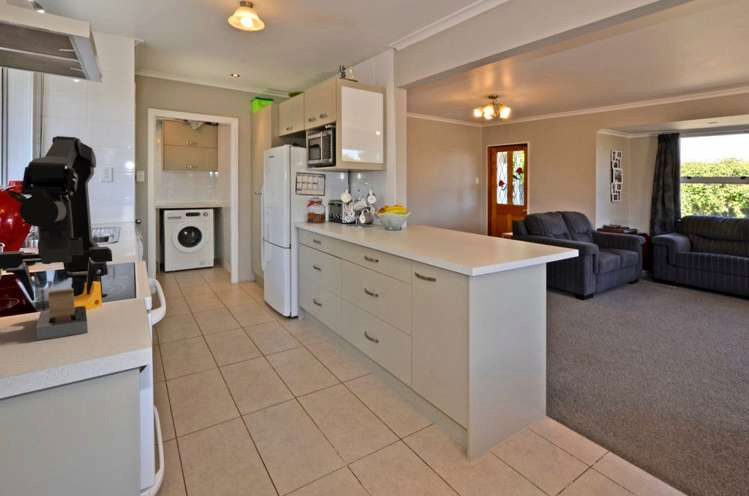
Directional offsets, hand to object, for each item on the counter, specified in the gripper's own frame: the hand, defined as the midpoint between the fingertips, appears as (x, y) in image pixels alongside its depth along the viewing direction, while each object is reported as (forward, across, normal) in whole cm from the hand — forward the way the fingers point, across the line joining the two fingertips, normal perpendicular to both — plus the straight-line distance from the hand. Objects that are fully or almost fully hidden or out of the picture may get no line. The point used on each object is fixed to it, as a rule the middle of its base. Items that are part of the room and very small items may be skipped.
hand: (61, 297), depth 85 cm
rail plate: (+6, 0, 0) cm, 6 cm away
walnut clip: (+6, 0, 0) cm, 6 cm away
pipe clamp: (+7, +2, +13) cm, 15 cm away
